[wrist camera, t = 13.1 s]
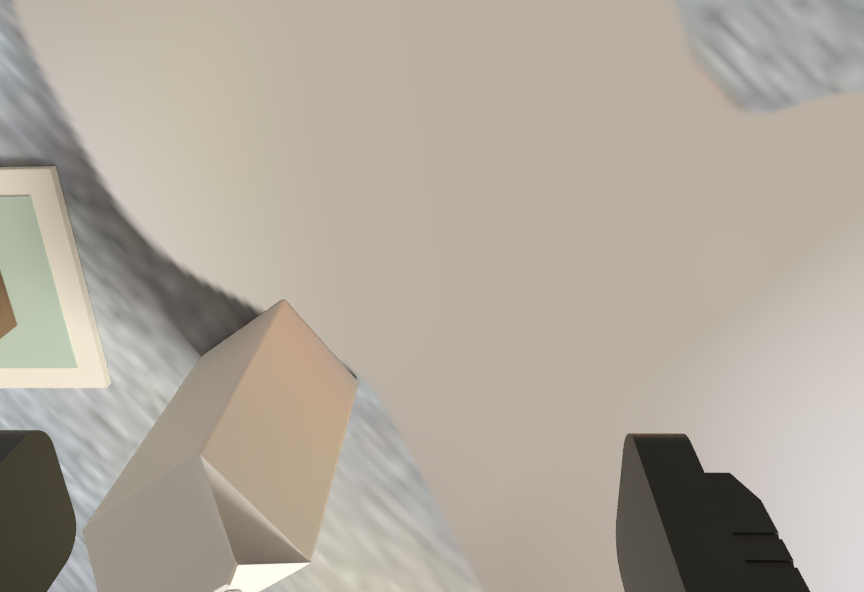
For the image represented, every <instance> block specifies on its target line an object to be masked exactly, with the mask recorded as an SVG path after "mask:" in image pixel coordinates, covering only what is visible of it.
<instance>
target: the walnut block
mask: <svg viewBox="0 0 864 592" xmlns="http://www.w3.org/2000/svg"><path fill="white" fill-rule="evenodd" d="M16 326H17V322H16V319H15V316H14V312H13V309H12V306H11V303H10V300H9V297H8V293H7V290H6V287H5V284H4V281H3V278H2V274H1V271H0V339H1V338H2V337H3V336H5V335H6V334H7V333H8V332H10V331H11V330H12V329H13V328H15V327H16Z"/></svg>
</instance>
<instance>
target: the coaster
mask: <svg viewBox="0 0 864 592" xmlns="http://www.w3.org/2000/svg"><path fill="white" fill-rule="evenodd" d="M0 271H1V274H2V278H3V281H4V284H5V287H6V290H7V293H8V297H9V300H10V303H11V306H12V309H13V312H14V316H15V319H16V322H17V326H16V327H15V328H13V329H12V330H11V331H10V332H8V333H7V334H6V335H5V336H3V337H2V338H1V339H0V388H107V387H108V386H109V385H110V384H111V380H110V376H109V372H108V369H107V365H106V361H105V357H104V353H103V349H102V345H101V341H100V337H99V333H98V329H97V325H96V322H95V318H94V314H93V310H92V306H91V302H90V298H89V294H88V290H87V286H86V282H85V279H84V275H83V271H82V267H81V263H80V259H79V255H78V251H77V247H76V243H75V239H74V236H73V232H72V228H71V224H70V220H69V216H68V212H67V208H66V204H65V200H64V196H63V192H62V189H61V185H60V181H59V177H58V173H57V169H56V166H30V167H0Z"/></svg>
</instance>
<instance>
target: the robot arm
mask: <svg viewBox="0 0 864 592" xmlns="http://www.w3.org/2000/svg"><path fill="white" fill-rule="evenodd" d="M75 535H76V518H75V514H74V510H73V507H72V504H71V500H70V497H69V494H68V491H67V487H66V484H65V481H64V478H63V474H62V471H61V468H60V465H59V461H58V458H57V455H56V452H55V448H54V445H53V443H52V440H51V439H50V437H49V436H48V435H47V434H46V433H45V432H43V431H40V430H0V592H47V590H48V589H49V587H50V586H51V585H52V583H53V582H54V580H55V579H56V577H57V576H58V574H59V573H60V571H61V570H62V568H63V567H64V565H65V564H66V562H67V560H68V558H69V556H70V554H71V551H72V549H73V545H74V541H75ZM616 547H617V557H618V564H619V569H620V574H621V578H622V582H623V586H624V590H625V592H810V591H809V589H808V587H807V585H806V583H805V581H804V579H803V578H802V576H801V574H800V572H799V570H798V568H794V565H793V559H792V557H791V555H790V553H789V552H788V550H787V548H786V546H785V544H784V542H783V540H782V539H779V537H778V531H777V529H776V527H775V526H774V524H773V522H772V520H771V518H770V516H769V514H768V513H767V511H766V509H765V507H764V505H763V503H762V502H761V500H760V499H759V498H758V497H757V496H755V495H754V494H753V493H752V492H751V491H750V490H749V489H747V488H746V487H745V486H744V485H743V484H742V483H741V482H739V481H738V480H737V479H736V478H735V477H734V476H733V475H732V474H730V473H704V470H703V468H702V466H701V464H700V462H699V459H698V457H697V455H696V453H695V451H694V449H693V446H692V444H691V442H690V440H689V438H688V437H687V436H686V435H685V434H627V436H626V438H625V442H624V448H623V458H622V468H621V479H620V489H619V499H618V509H617V519H616Z"/></svg>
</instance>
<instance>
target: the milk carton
mask: <svg viewBox="0 0 864 592" xmlns="http://www.w3.org/2000/svg"><path fill="white" fill-rule="evenodd" d="M358 384H359V382H358V381H357V380H356V379H355V377H354V376H353V375H352V374H351V373H350V372H349V371H348V370H347V368H346V367H345V366H344V365H343V364H342V363H341V362H340V361H339V359H338V358H337V357H336V356H335V355H334V354H333V353H332V352H331V350H330V349H329V348H328V347H327V346H326V345H325V344H324V343H323V342H322V340H321V339H320V338H319V337H318V336H317V335H316V334H315V333H314V331H313V330H312V329H311V328H310V327H309V326H308V325H307V324H306V323H305V321H304V320H303V319H302V318H301V317H300V316H299V315H298V314H297V312H296V311H295V310H294V309H293V308H292V307H291V306H290V305H289V303H288V302H286V300H284V299H283V300H281V301H279V302H278V303H277V304H275V305H273V306H272V307H271V308H269V309H268V310H266V311H265V312H263V313H262V314H261V315H259V316H258V317H256V318H255V319H254V320H252V321H251V322H249V323H248V324H246V325H245V326H244V327H242V328H241V329H239V330H238V331H236V332H235V333H234V334H232V335H231V336H229V337H228V338H227V339H225V340H224V341H222V342H221V343H219V344H218V345H217V346H215V347H214V348H212V349H211V350H210V351H208V352H207V353H205V354H204V355H203V356H202V357H201V358H200V359H199V360H198V362H197V363H196V365H195V366H194V368H193V369H192V370H191V372H190V373H189V375H188V376H187V378H186V379H185V381H184V382H183V384H182V385H181V387H180V388H179V390H178V391H177V392H176V394H175V395H174V397H173V398H172V400H171V401H170V403H169V404H168V406H167V407H166V409H165V410H164V412H163V413H162V414H161V416H160V417H159V419H158V420H157V422H156V423H155V425H154V426H153V428H152V429H151V431H150V432H149V434H148V435H147V436H146V438H145V439H144V441H143V442H142V444H141V445H140V447H139V448H138V450H137V451H136V453H135V454H134V456H133V457H132V459H131V460H130V461H129V463H128V464H127V466H126V467H125V469H124V470H123V472H122V473H121V475H120V476H119V478H118V479H117V481H116V482H115V483H114V485H113V486H112V488H111V489H110V491H109V492H108V494H107V495H106V497H105V498H104V500H103V501H102V503H101V504H100V505H99V507H98V508H97V510H96V511H95V513H94V514H93V516H92V517H91V519H90V520H89V522H88V523H87V525H86V526H85V527H84V529H83V535H84V539H85V542H86V546H87V550H88V554H89V558H90V562H91V565H92V569H93V573H94V577H95V581H96V585H97V588H98V592H259V591H261V590H263V589H265V588H266V587H268V586H270V585H272V584H274V583H275V582H277V581H279V580H281V579H283V578H285V577H286V576H288V575H290V574H292V573H294V572H295V571H297V570H299V569H301V568H302V567H304V566H306V565H307V564H309V563H310V562H311V560H312V557H313V553H314V550H315V546H316V542H317V539H318V535H319V531H320V527H321V524H322V520H323V516H324V512H325V509H326V505H327V501H328V497H329V493H330V490H331V486H332V482H333V478H334V475H335V471H336V467H337V463H338V460H339V456H340V452H341V448H342V444H343V441H344V437H345V433H346V429H347V426H348V422H349V418H350V414H351V410H352V407H353V403H354V399H355V395H356V392H357V388H358Z"/></svg>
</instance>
